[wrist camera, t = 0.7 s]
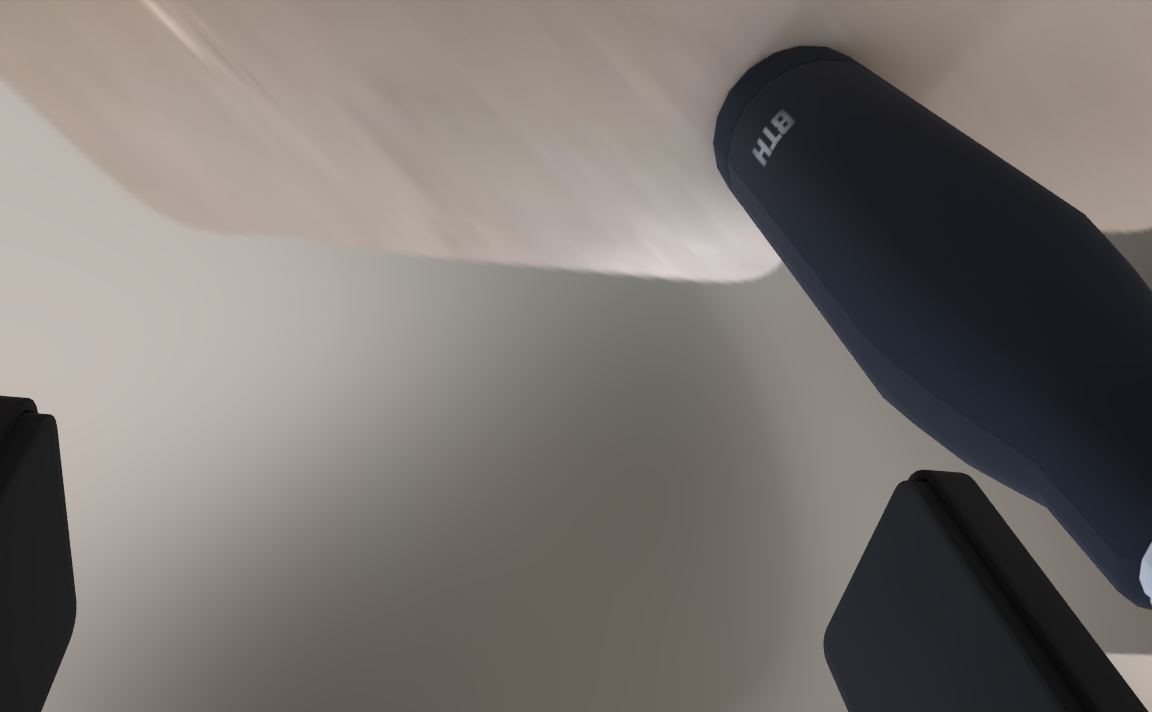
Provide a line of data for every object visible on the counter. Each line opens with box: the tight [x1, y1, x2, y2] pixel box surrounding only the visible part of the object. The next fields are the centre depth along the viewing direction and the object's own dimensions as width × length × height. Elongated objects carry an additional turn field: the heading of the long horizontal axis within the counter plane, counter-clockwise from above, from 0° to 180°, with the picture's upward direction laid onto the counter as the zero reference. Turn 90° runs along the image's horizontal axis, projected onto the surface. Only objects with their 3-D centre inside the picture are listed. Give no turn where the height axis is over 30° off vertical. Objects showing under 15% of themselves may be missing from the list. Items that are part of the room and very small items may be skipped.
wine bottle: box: [713, 46, 1152, 610], centre depth 23 cm, size 6×6×30 cm
